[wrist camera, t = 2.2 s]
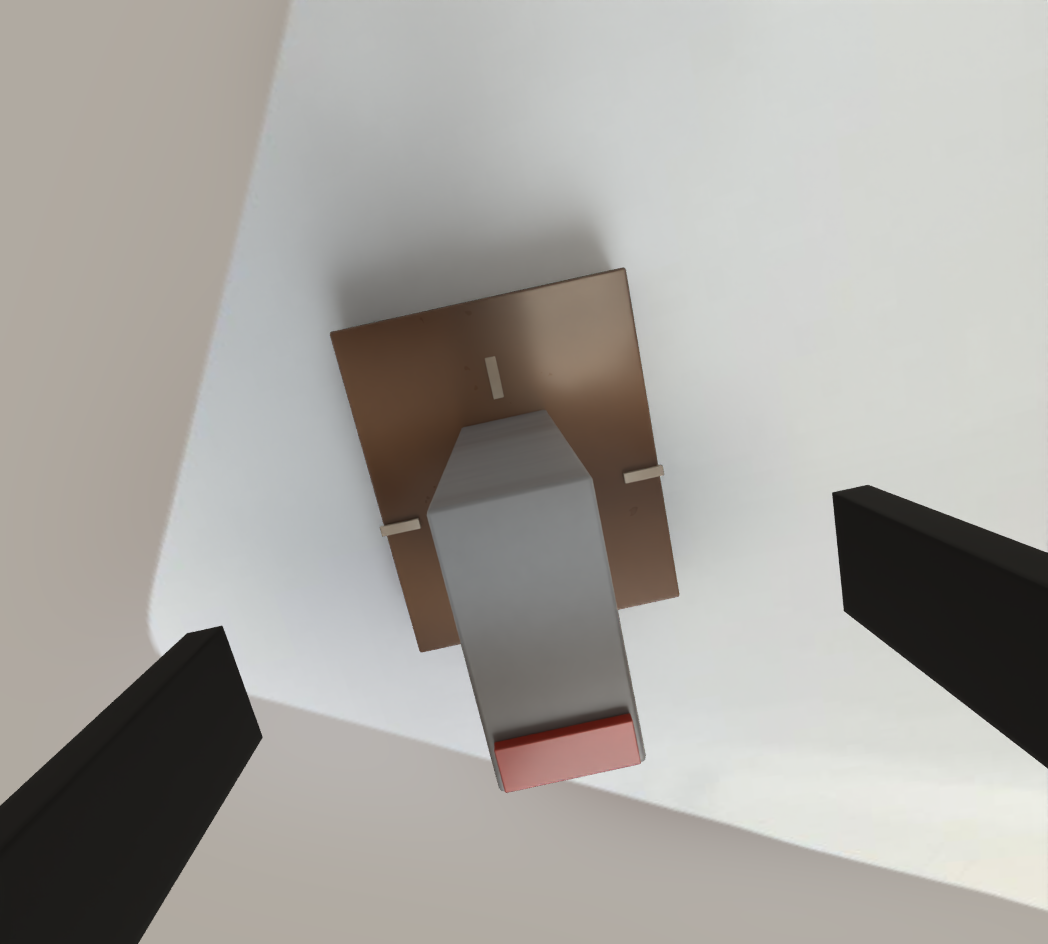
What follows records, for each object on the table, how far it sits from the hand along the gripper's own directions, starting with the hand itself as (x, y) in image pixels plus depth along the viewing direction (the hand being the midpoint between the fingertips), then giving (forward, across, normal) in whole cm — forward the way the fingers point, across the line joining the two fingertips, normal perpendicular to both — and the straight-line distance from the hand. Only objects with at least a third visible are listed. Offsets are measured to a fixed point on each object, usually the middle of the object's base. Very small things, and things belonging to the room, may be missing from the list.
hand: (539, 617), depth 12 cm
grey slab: (+9, 0, 0) cm, 9 cm away
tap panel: (+11, 0, +1) cm, 11 cm away
